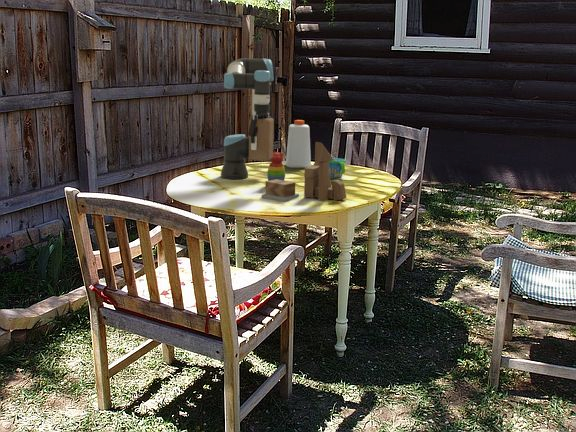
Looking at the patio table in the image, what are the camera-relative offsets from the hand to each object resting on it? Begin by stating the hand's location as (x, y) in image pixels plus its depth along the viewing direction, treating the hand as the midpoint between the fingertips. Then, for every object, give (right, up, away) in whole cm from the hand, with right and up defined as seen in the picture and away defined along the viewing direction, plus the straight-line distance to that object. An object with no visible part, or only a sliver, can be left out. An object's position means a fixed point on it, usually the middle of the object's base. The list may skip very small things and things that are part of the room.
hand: (261, 148), depth 326 cm
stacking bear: (+7, -17, +24) cm, 30 cm away
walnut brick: (+9, -22, -4) cm, 25 cm away
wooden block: (0, -5, +1) cm, 6 cm away
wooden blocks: (+33, -24, 0) cm, 41 cm away
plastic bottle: (+19, -2, +85) cm, 87 cm away
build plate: (+9, -24, -3) cm, 26 cm away
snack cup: (+40, -11, +52) cm, 66 cm away
